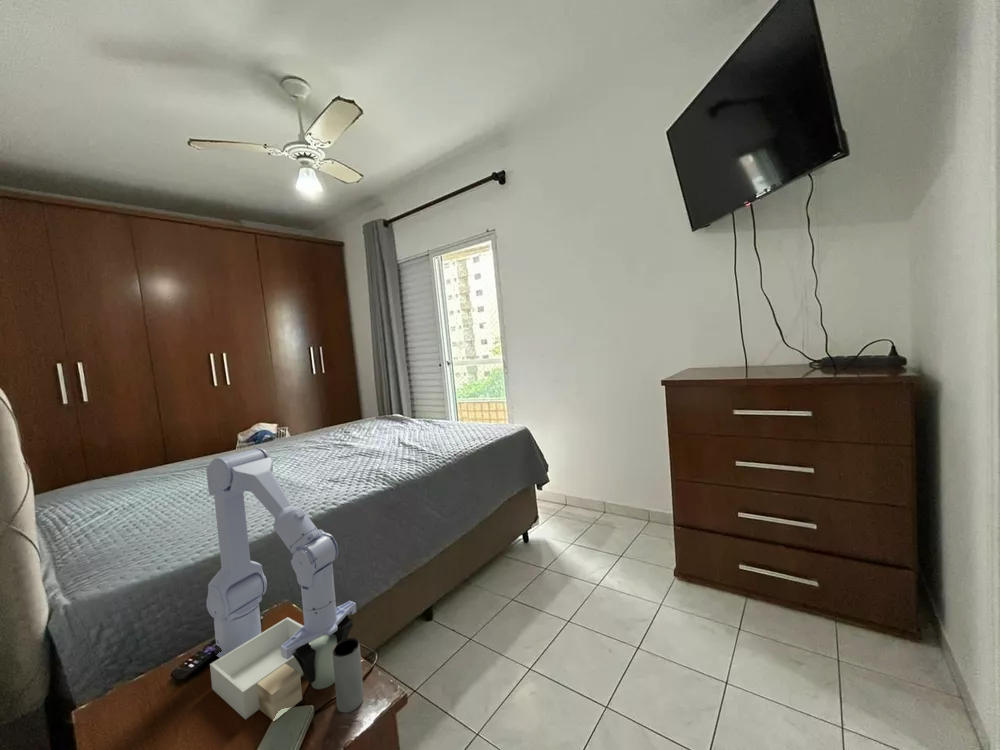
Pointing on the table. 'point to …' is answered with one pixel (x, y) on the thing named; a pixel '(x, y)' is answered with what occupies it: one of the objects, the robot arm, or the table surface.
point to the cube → (279, 690)
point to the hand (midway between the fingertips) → (324, 668)
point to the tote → (252, 667)
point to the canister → (324, 661)
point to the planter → (348, 674)
